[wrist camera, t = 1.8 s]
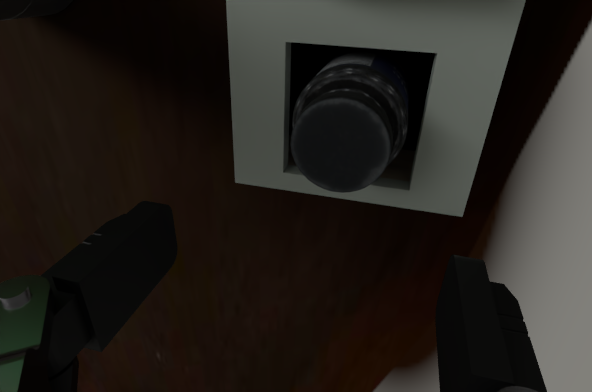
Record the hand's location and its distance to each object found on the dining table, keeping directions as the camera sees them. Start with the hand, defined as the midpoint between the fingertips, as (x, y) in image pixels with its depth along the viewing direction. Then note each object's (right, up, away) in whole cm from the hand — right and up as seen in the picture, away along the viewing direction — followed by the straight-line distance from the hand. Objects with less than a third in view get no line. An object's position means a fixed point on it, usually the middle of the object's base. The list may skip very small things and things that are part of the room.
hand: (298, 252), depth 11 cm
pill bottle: (+5, +9, +16) cm, 19 cm away
